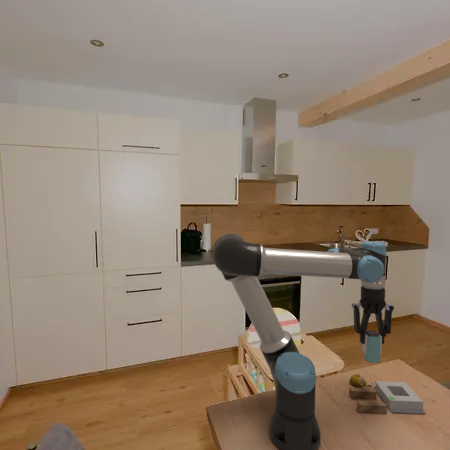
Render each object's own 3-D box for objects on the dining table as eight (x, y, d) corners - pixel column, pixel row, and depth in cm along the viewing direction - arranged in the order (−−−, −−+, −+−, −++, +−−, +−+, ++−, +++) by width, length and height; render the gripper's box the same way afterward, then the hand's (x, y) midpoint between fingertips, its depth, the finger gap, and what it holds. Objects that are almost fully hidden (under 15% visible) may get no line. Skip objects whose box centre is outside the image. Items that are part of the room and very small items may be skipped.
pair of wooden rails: (359, 413, 98) (359, 404, 98) (349, 395, 107) (349, 387, 107) (386, 414, 98) (386, 405, 97) (374, 396, 107) (374, 388, 107)
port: (391, 413, 98) (392, 402, 98) (373, 387, 112) (373, 377, 112) (425, 414, 97) (426, 403, 97) (402, 388, 111) (403, 378, 111)
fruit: (372, 395, 108) (372, 385, 108) (348, 388, 112) (348, 379, 112) (373, 383, 115) (373, 374, 115) (350, 377, 119) (351, 368, 119)
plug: (367, 362, 100) (368, 334, 99) (363, 356, 104) (363, 329, 103) (379, 362, 100) (380, 334, 99) (374, 356, 104) (375, 329, 103)
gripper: (351, 289, 97) (350, 357, 98) (404, 289, 96) (402, 358, 97) (343, 283, 104) (343, 346, 106) (393, 283, 103) (391, 347, 105)
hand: (371, 352), depth 102 cm, fingers closed on plug, 4 cm apart
